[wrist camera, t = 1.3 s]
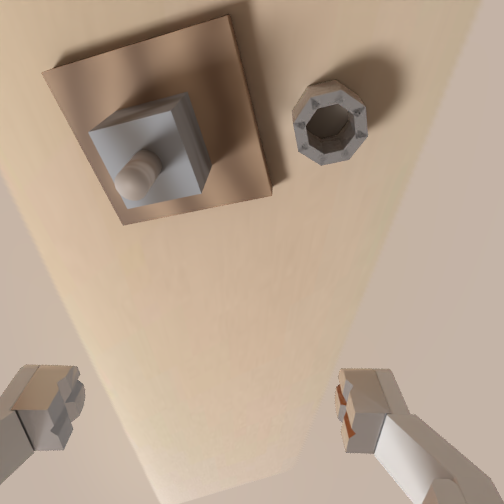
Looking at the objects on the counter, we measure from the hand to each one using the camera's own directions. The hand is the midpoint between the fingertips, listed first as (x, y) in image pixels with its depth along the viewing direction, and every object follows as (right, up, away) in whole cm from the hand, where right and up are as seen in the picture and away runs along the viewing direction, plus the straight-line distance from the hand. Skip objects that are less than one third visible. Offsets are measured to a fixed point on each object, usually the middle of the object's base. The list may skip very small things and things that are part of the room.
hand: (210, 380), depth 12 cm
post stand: (-7, +16, +25) cm, 30 cm away
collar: (+8, +17, +23) cm, 30 cm away
